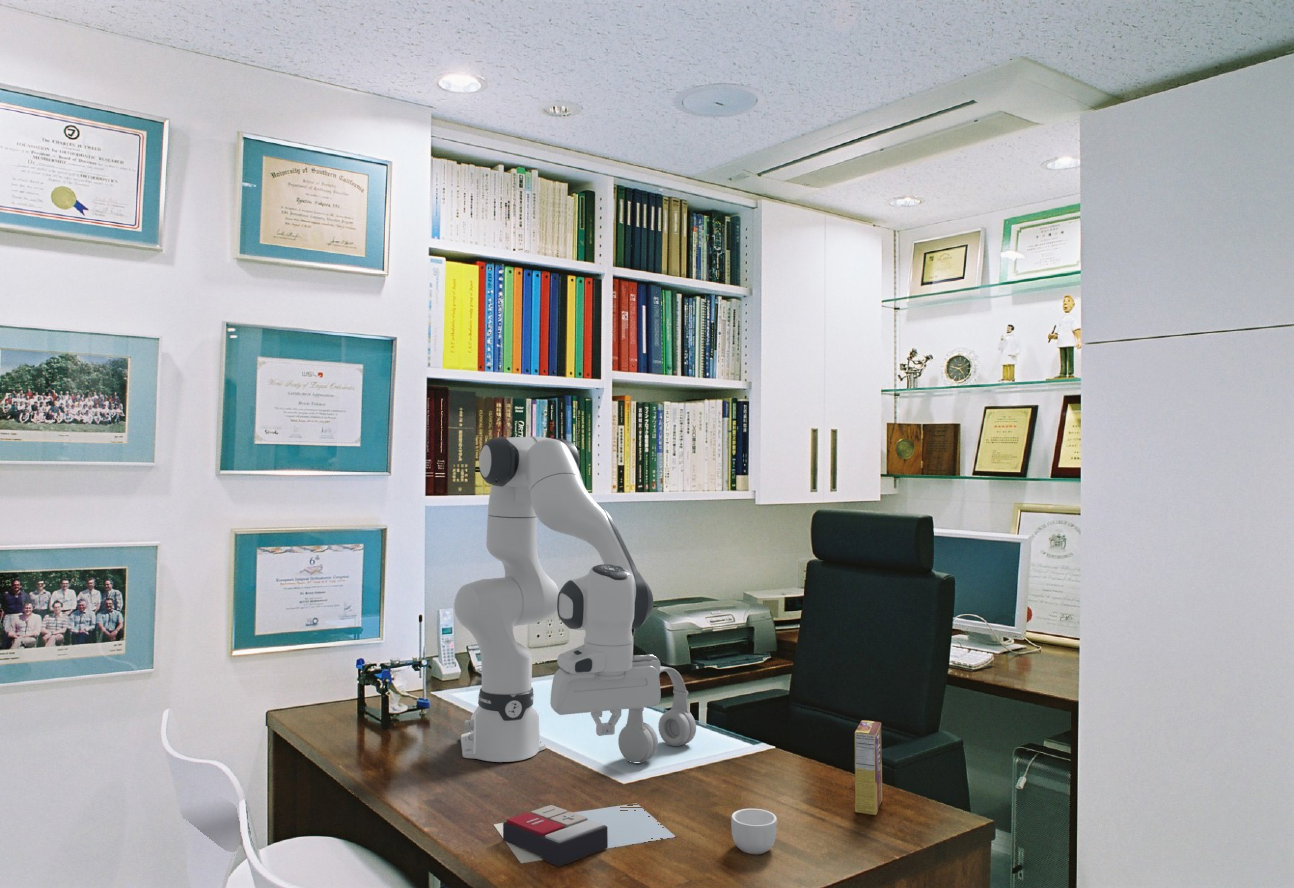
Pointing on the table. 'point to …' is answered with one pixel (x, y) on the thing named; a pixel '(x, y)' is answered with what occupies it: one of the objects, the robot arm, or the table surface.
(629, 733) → the headphones
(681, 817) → the table surface
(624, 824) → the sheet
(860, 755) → the candy box
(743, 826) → the teacup
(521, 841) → the calculator
